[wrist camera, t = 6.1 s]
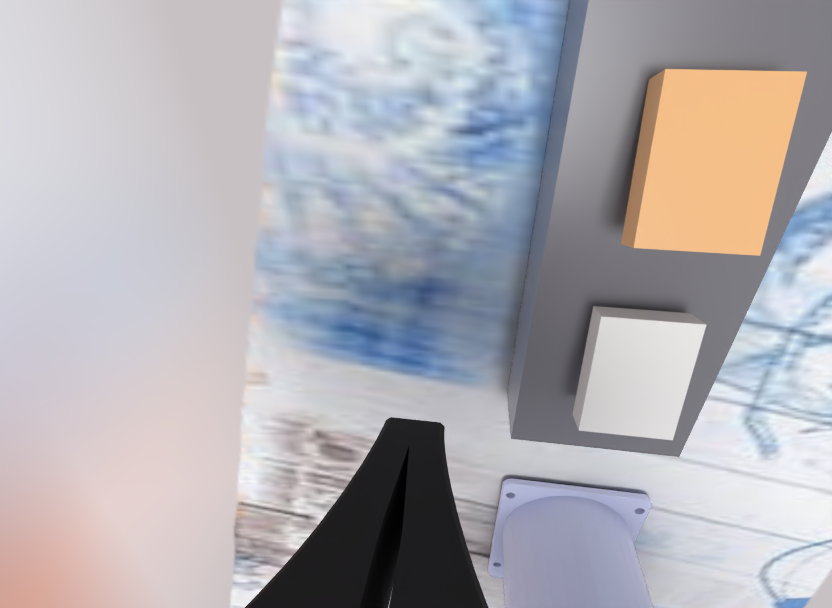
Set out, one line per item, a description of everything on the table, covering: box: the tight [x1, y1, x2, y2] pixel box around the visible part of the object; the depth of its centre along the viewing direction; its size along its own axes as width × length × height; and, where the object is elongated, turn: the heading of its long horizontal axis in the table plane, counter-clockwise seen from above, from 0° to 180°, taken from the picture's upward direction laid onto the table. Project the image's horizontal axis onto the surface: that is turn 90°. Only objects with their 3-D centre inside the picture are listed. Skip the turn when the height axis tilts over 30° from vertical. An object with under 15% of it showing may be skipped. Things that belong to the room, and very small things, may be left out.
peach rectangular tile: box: [621, 69, 807, 256], centre depth 11 cm, size 4×3×1 cm
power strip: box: [507, 0, 832, 457], centre depth 13 cm, size 26×7×3 cm, turn 179°
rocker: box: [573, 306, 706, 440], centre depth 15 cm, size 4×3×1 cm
